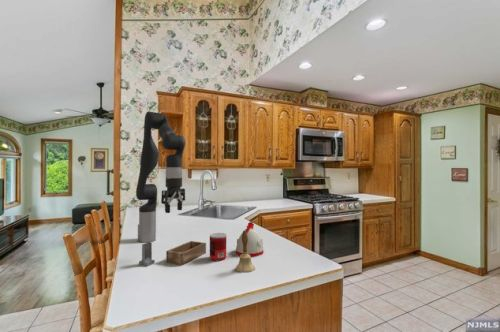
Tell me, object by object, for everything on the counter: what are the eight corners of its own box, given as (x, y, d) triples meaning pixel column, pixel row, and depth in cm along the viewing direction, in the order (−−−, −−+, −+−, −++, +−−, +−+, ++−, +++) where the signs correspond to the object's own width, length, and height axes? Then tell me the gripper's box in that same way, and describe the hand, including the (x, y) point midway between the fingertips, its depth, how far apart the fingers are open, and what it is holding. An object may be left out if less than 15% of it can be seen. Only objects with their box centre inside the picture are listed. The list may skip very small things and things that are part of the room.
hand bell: (248, 274, 101) (248, 233, 101) (231, 269, 105) (231, 231, 105) (258, 267, 108) (258, 229, 108) (242, 263, 112) (242, 227, 112)
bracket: (139, 264, 111) (139, 244, 111) (146, 261, 115) (146, 241, 115) (147, 266, 109) (147, 245, 109) (154, 263, 113) (154, 243, 113)
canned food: (229, 256, 121) (228, 233, 121) (221, 262, 114) (221, 237, 114) (214, 254, 124) (214, 232, 124) (206, 260, 116) (206, 236, 116)
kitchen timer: (267, 250, 131) (267, 221, 131) (257, 258, 118) (256, 226, 119) (243, 246, 137) (243, 219, 137) (230, 254, 124) (230, 224, 124)
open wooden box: (166, 262, 114) (166, 251, 114) (191, 250, 130) (191, 240, 130) (182, 265, 110) (182, 253, 110) (205, 253, 126) (205, 242, 126)
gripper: (177, 176, 128) (177, 208, 127) (156, 177, 114) (156, 213, 114) (189, 176, 125) (189, 209, 124) (170, 177, 112) (170, 214, 111)
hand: (173, 211), depth 119 cm, fingers open, 8 cm apart
